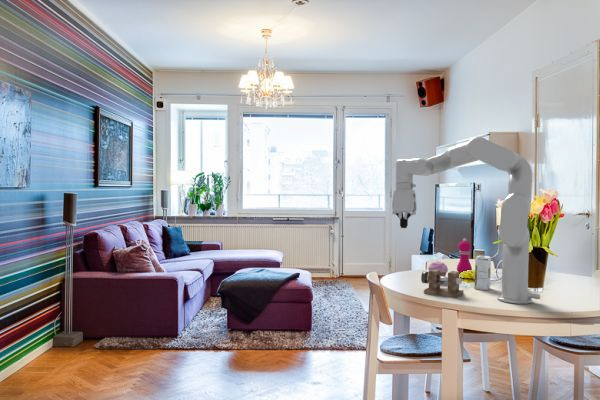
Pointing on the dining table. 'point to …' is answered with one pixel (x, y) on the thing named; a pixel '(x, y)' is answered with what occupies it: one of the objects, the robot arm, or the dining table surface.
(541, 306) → the dining table surface
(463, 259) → the pepper mill
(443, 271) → the cupcake
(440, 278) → the shaft
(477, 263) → the silver can
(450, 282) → the bracket
